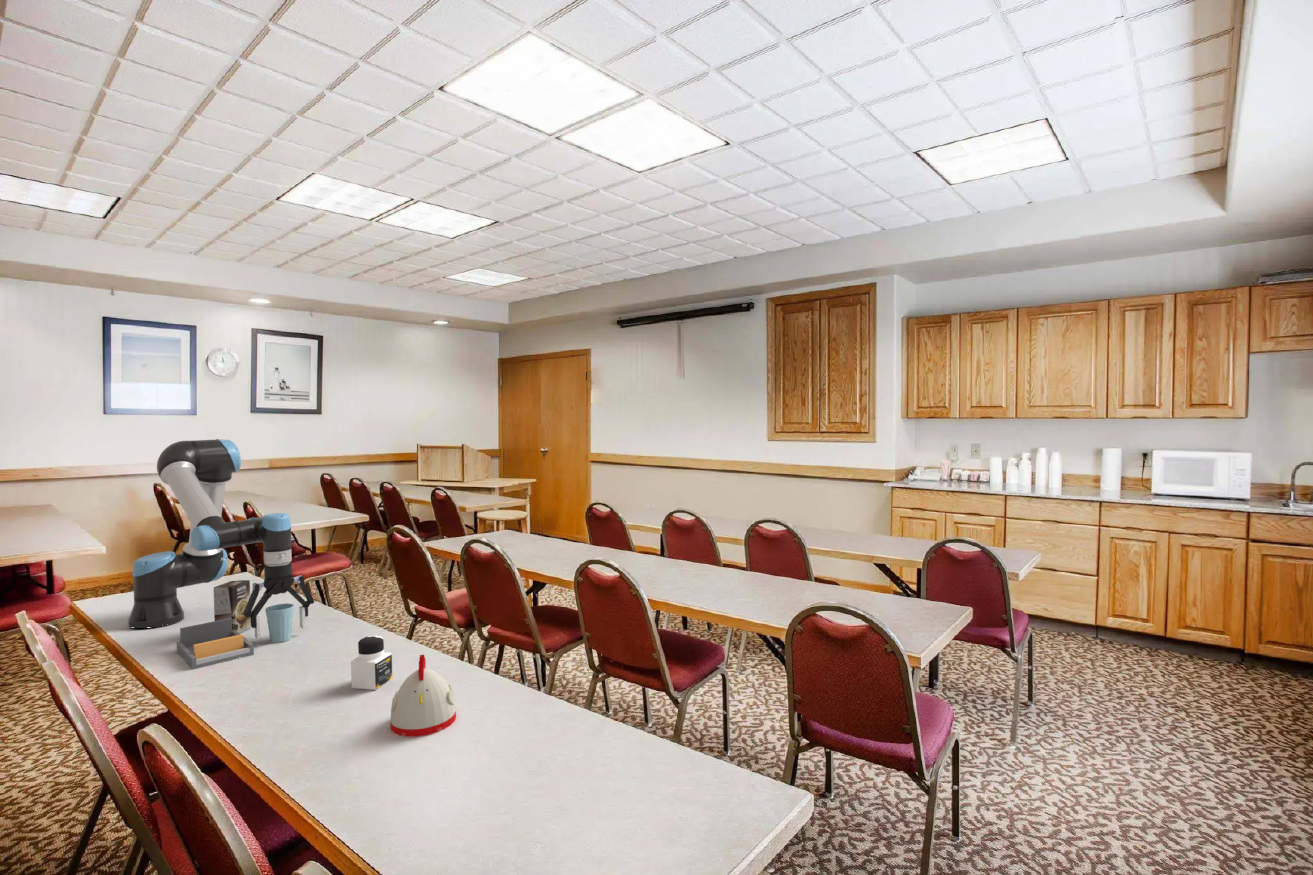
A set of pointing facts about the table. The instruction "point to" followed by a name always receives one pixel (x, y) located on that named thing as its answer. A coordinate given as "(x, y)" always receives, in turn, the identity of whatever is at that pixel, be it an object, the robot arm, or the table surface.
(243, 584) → the coffee box
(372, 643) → the medicine bottle
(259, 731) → the table surface
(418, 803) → the table surface
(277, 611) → the cup
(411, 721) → the kitchen timer
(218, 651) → the pusher
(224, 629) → the grey open rectangular box
